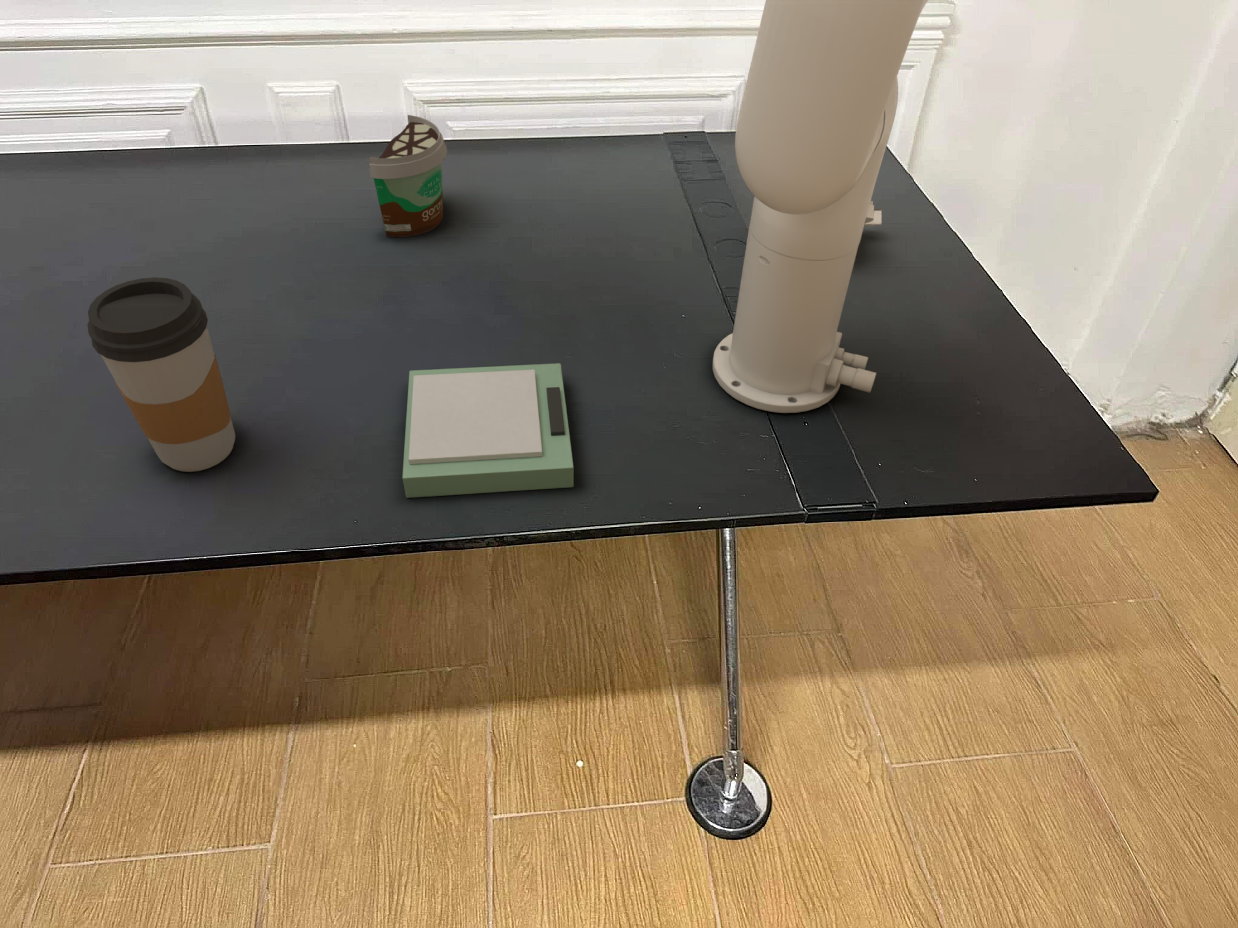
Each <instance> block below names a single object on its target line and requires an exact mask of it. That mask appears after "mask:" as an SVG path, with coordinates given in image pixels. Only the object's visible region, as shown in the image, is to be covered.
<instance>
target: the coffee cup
mask: <svg viewBox="0 0 1238 928" xmlns="http://www.w3.org/2000/svg"><path fill="white" fill-rule="evenodd" d="M87 310H88V311H87V316H88V321H87V326H86V327H87V332H88V335H89V337H90V339H91V347H92V348H93V349H94V350H95V352H96V353H97V354H99V355H100V356H101V358H102V360H103V361H104V364H105V365H106V367H107V369H108V370H109V372H110V374H111V376H112V377H113V379H114V381H115V386H116V387H117V389H118V391H119V393H120V394H121V396H122V398H123V399H124V401H125V403H126V405H127V406H128V408H129V410H130V412H131V413H132V416H133V417H134V419H135V420H136V422H137V424H138V426H139V428H140V429H141V431H142V433H143V434H144V435H145V437H146V438H147V440H148V441H149V443H150V445H151V447H152V448H153V450H154V452H155V454H156V455H157V457H158V459H159V460H160V461H161V463H163V464H165V465H166V466H168V467H169V468H171V469H173V470H175V471H179V472H188V473H192V472H200V471H203V470H207V469H210V468H212V467H214V466H216V465H218V464H220V463H221V462H223V461H224V460H225V459H226V458H227V457H228V456H229V455H230V454H231V452H232V450H233V449H234V444H235V441H236V433H235V429H234V425H233V420H232V417H231V409H230V406H229V402H228V398H227V394H226V390H225V387H224V383H223V378H222V374H221V371H220V368H219V363H218V359H217V356H216V354H215V352H214V349H213V345H212V341H211V337H210V334H209V329H208V322H209V321H208V320H209V319H208V315H207V312H206V311H205V309H204V308H203V306H202V302H201V301H200V299H199V298H198V297H197V296H196V295H195V294H194V293H192V291H191V290H190V289H189V287H188V286H187V285H186V284H184V283H182V282H180V281H179V280H176V279H173V278H172V279H171V278H168V277H155V276H154V277H144V278H137V279H132V280H127V281H124V282H122V283H118V284H116V285H114V286H111V287H110V288H108V289H106V290H105V291H103V292H101V293H100V294H99V295H98V296H96V297H95V299H94V300H93V301H91V303H90V304H89V307H88V309H87Z"/></svg>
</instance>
